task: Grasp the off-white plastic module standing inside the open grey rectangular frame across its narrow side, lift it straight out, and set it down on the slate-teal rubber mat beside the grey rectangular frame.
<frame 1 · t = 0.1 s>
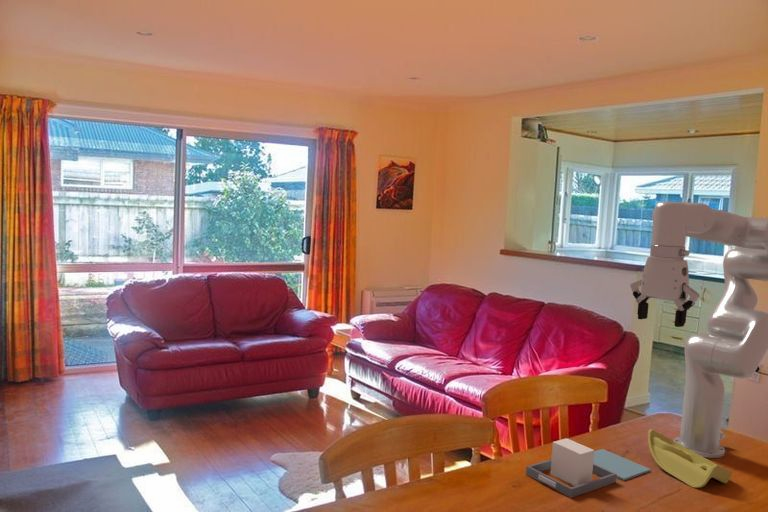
hand: (660, 322, 153), 37 cm above the table, tool pointing down, fingers open, 9 cm apart
plastic component: (684, 472, 156), on the table
grey rectangular frame: (570, 478, 148), on the table
mat: (612, 464, 157), on the table
module: (572, 462, 147), in the grey rectangular frame
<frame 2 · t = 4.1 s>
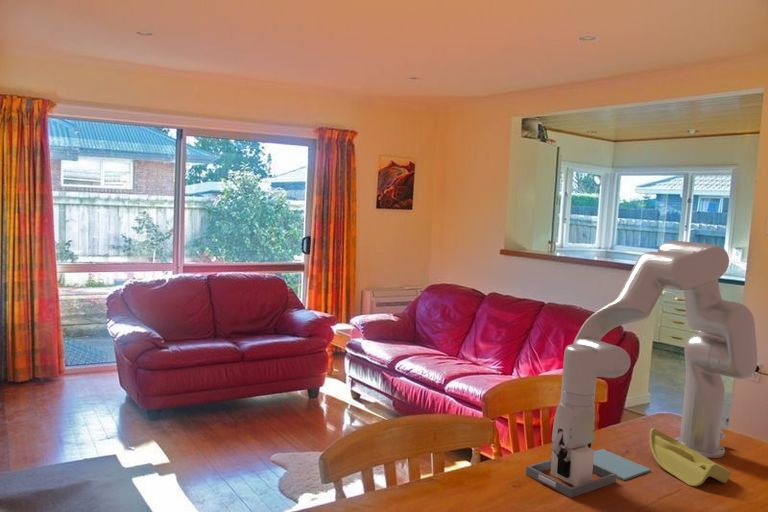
hand: (571, 472, 147), 1 cm above the table, tool pointing down, fingers closed on module, 5 cm apart
module: (572, 462, 147), in the grey rectangular frame, touching gripper
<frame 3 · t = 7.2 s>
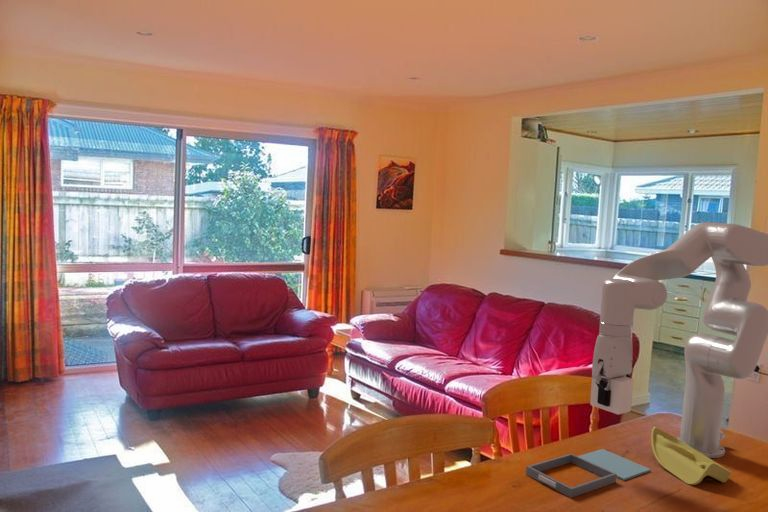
hand: (610, 402, 153), 17 cm above the table, tool pointing down, fingers closed on module, 5 cm apart
module: (611, 392, 153), point 19 cm above the table, touching gripper
when the fingers open (4 cm above the table, at t = 10.5 s): module drops 2 cm, resting on mat.
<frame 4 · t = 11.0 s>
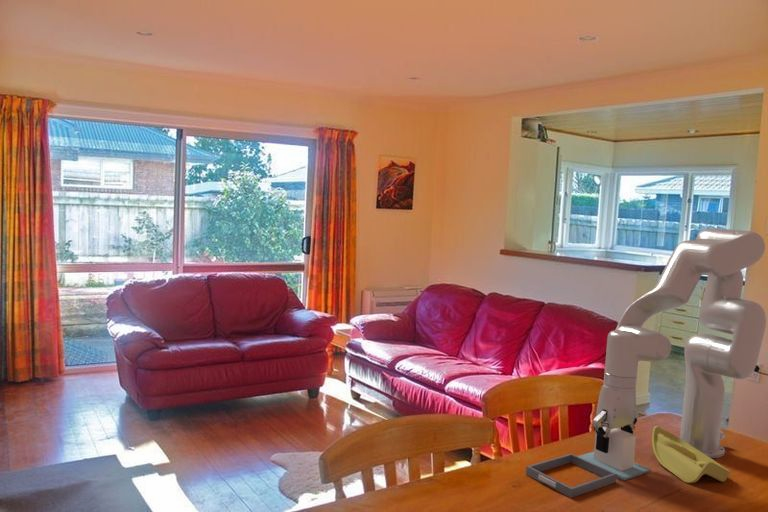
hand: (613, 447, 156), 4 cm above the table, tool pointing down, fingers open, 9 cm apart
module: (614, 447, 156), on the mat
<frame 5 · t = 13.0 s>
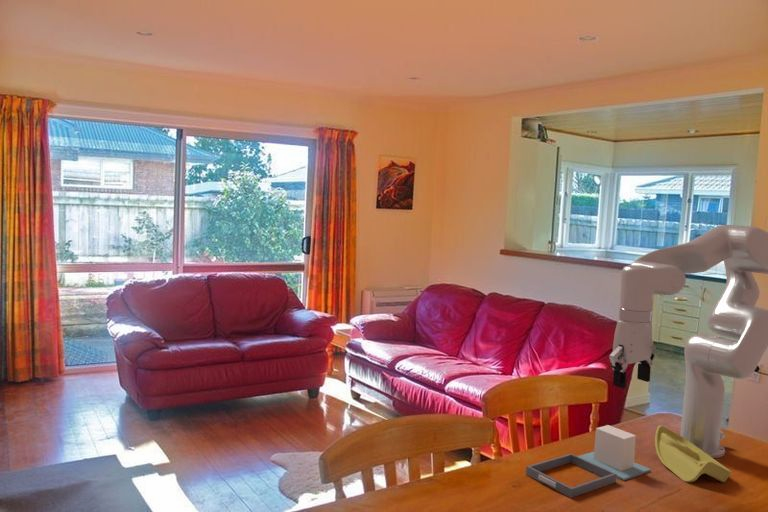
hand: (631, 383, 155), 21 cm above the table, tool pointing down, fingers open, 9 cm apart
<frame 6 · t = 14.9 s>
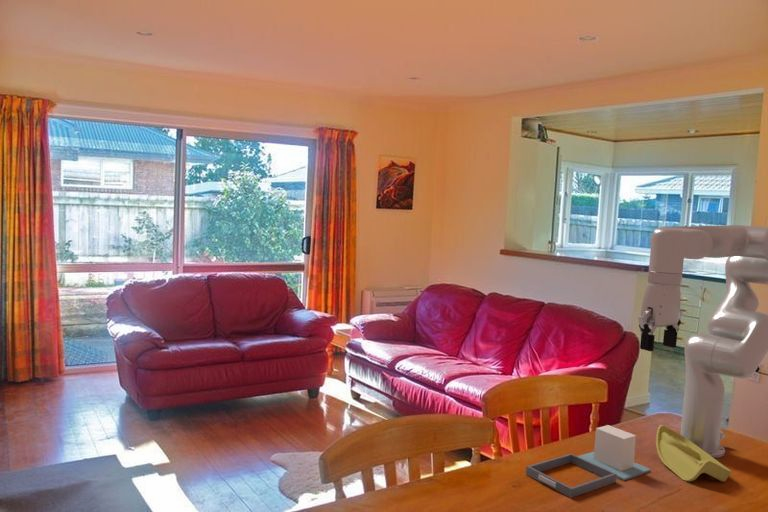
hand: (658, 348, 154), 30 cm above the table, tool pointing down, fingers open, 9 cm apart
at the end: module inside the target area on the mat (0.2 cm from its centre), point 4.5 cm above the mat's base; module touching mat; the gripper is holding nothing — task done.
